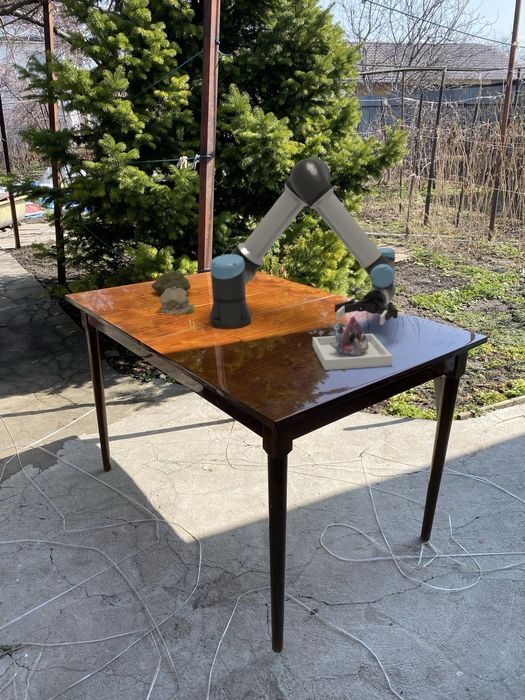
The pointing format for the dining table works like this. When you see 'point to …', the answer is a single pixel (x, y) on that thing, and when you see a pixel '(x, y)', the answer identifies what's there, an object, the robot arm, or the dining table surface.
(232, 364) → the dining table surface
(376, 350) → the tray
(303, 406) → the dining table surface
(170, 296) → the ceramic model
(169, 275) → the decorative rock
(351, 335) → the brake caliper
